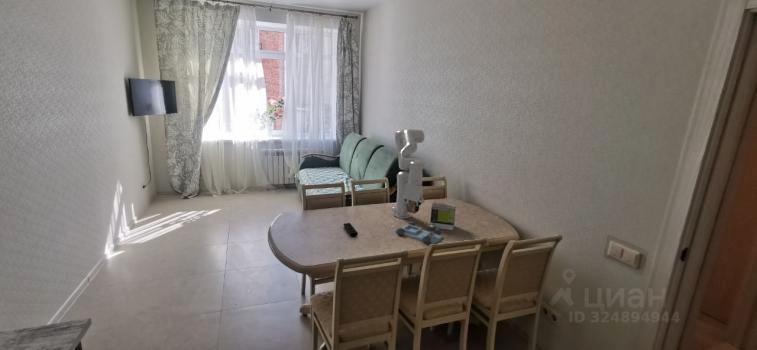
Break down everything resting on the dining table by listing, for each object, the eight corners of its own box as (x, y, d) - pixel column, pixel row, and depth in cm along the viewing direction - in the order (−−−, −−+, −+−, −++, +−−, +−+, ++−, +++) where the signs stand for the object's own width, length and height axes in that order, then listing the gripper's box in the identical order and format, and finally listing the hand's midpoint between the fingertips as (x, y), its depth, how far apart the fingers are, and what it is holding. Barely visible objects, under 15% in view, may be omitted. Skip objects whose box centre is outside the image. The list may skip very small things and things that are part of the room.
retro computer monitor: (454, 225, 235) (456, 204, 231) (453, 231, 226) (455, 209, 222) (431, 222, 239) (433, 201, 235) (429, 227, 229) (431, 205, 226)
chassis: (393, 233, 217) (394, 226, 216) (406, 226, 230) (407, 219, 229) (432, 245, 203) (433, 238, 202) (443, 237, 216) (444, 230, 215)
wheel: (425, 233, 210) (425, 226, 209) (429, 230, 215) (429, 223, 213) (433, 235, 208) (433, 228, 206) (436, 233, 212) (437, 225, 211)
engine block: (406, 211, 215) (407, 201, 213) (411, 209, 219) (411, 199, 217) (414, 213, 212) (415, 202, 210) (418, 211, 216) (419, 200, 214)
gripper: (399, 180, 212) (397, 208, 217) (424, 186, 203) (422, 215, 208) (405, 177, 218) (403, 205, 223) (430, 183, 209) (428, 212, 214)
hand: (412, 210), depth 215 cm, fingers closed on engine block, 5 cm apart
